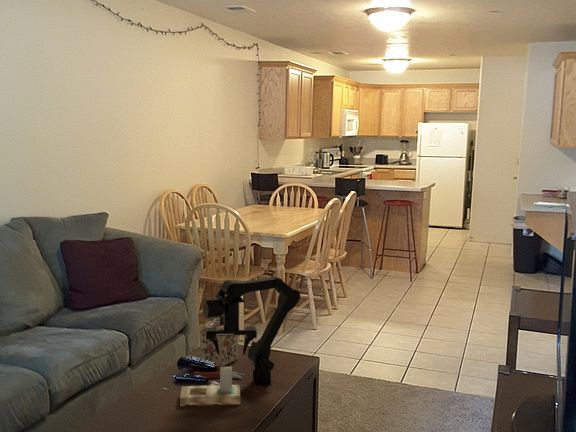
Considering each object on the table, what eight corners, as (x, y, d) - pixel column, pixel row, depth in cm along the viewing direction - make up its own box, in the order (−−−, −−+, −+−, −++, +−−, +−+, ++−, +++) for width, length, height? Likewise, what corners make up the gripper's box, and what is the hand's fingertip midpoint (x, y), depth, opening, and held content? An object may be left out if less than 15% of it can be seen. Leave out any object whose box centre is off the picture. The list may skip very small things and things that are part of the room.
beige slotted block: (239, 392, 227) (239, 384, 227) (240, 404, 217) (240, 395, 217) (182, 394, 225) (182, 385, 225) (180, 406, 215) (180, 397, 215)
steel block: (231, 387, 224) (231, 366, 223) (231, 392, 220) (231, 370, 219) (220, 387, 223) (220, 366, 222) (220, 392, 219) (220, 371, 218)
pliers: (239, 385, 235) (239, 378, 235) (192, 378, 241) (192, 372, 241) (250, 374, 246) (250, 368, 246) (205, 368, 252) (205, 362, 252)
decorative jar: (238, 359, 261) (238, 318, 259) (221, 368, 251) (221, 325, 249) (216, 354, 267) (216, 313, 265) (199, 362, 257) (198, 320, 255)
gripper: (255, 308, 236) (255, 347, 238) (206, 308, 234) (206, 348, 236) (256, 316, 225) (256, 357, 227) (205, 317, 223) (205, 358, 225)
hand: (231, 355), depth 229 cm, fingers open, 9 cm apart
